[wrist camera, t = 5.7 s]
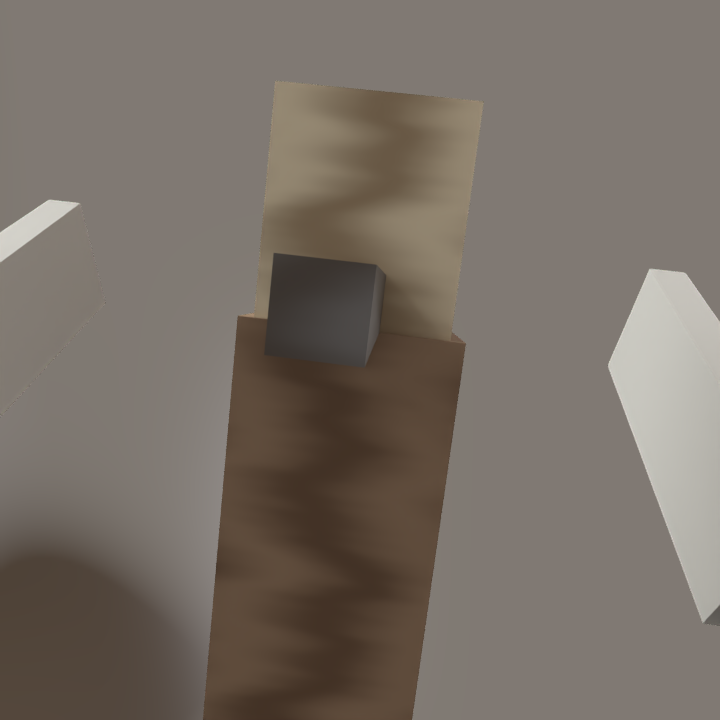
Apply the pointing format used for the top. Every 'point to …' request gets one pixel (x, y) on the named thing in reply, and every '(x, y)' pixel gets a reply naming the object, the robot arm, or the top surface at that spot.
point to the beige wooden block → (362, 219)
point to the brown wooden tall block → (329, 529)
